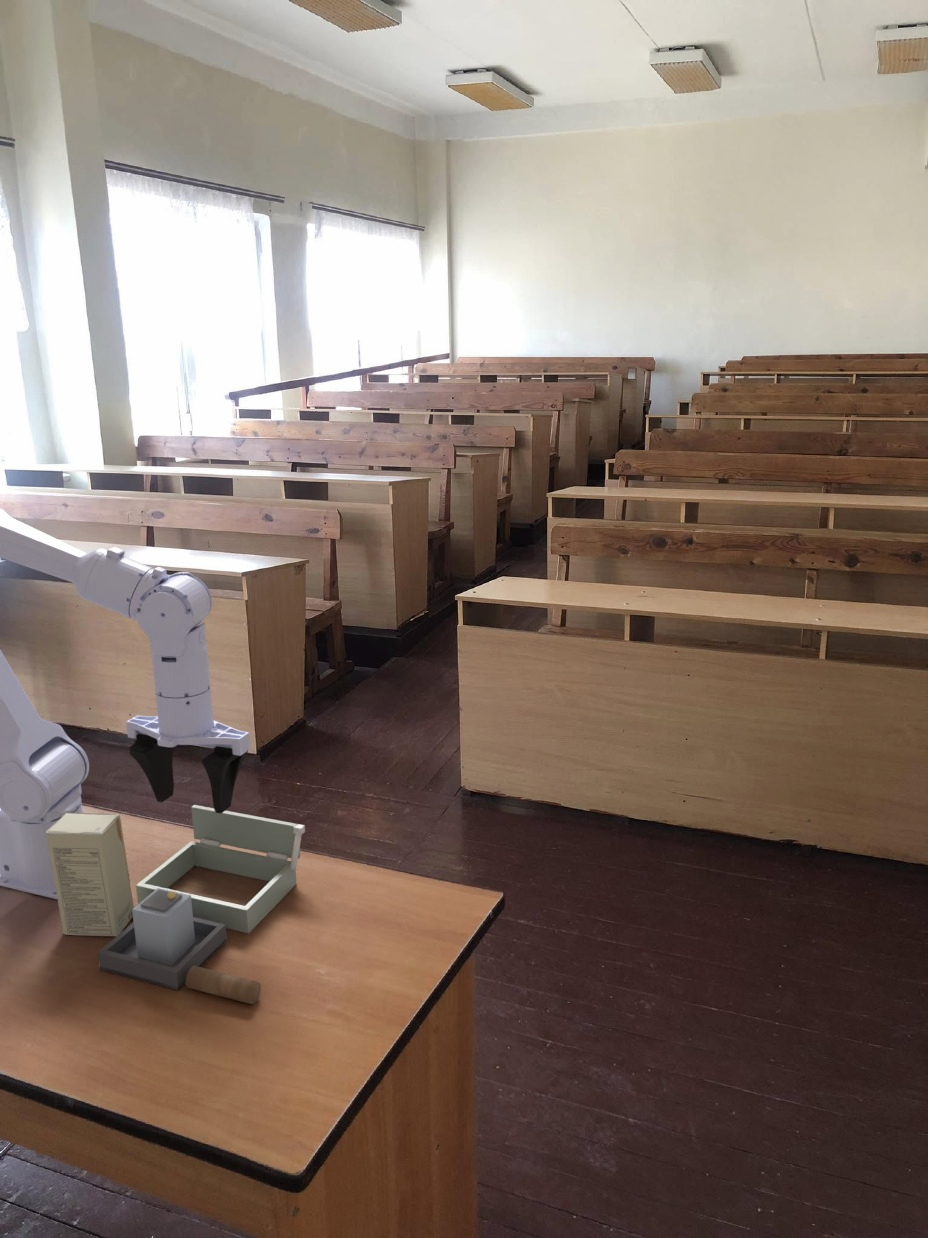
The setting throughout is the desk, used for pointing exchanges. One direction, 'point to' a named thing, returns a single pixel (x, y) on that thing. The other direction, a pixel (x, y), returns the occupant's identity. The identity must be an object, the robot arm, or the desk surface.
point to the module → (164, 926)
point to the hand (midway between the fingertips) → (193, 803)
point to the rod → (223, 985)
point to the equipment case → (234, 863)
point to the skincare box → (90, 874)
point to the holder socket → (127, 963)
